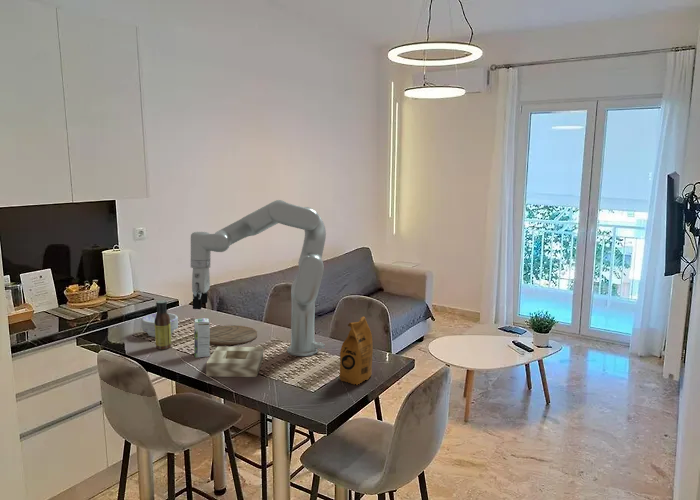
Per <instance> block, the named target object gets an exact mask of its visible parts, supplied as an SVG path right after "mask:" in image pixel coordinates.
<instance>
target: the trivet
mask: <svg viewBox="0 0 700 500" xmlns="http://www.w3.org/2000/svg"><path fill="white" fill-rule="evenodd" d="M257 337H258V331H257V330H256V329H254V328H252V327H250V326H245V325H219V326H213V327H210V346H217V347H234V346H240V345H245V344H248V343H251V342H253V341H255V340H256V339H257Z"/></svg>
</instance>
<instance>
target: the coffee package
mask: <svg viewBox="0 0 700 500" xmlns="http://www.w3.org/2000/svg"><path fill="white" fill-rule="evenodd" d="M347 327H349V328H350V330H349V331H348V334H347V337H346V339H344V341H343V343H342V345H341V348H340V352H339V361H340V363H339V380H340V381H341V382H345V383H347V382H348V384H351V385H355V384H356V385H355V386H359V385H361V384H362V383H363V382H366V381H365V380H367V381H368V380H369V379H370V378H371V377H372V376H373V374H372V371H373V369H372V368H373V353H374V351H373V350H374V349H373V348H374V347H373V343H374V342H373V335H372V331H371V327H370V326H369V323H368V321H367V319H366V317H365V316H360V318H359V321H355V322H349V323H348V324H347ZM371 375H372V376H371ZM360 383H361V384H360ZM358 384H359V385H358Z"/></svg>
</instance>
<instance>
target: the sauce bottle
mask: <svg viewBox="0 0 700 500" xmlns="http://www.w3.org/2000/svg"><path fill="white" fill-rule="evenodd" d="M155 305H156V313H155V314H156V318H155V321H154V323H155V337H154V338H155V347H156V348H157V349H158V350H167V349H170V348H171V347H172V334H171V324H170V317H169V314H168V312H167V305H168V303H167V301H166V300H158V301H156V302H155Z"/></svg>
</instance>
